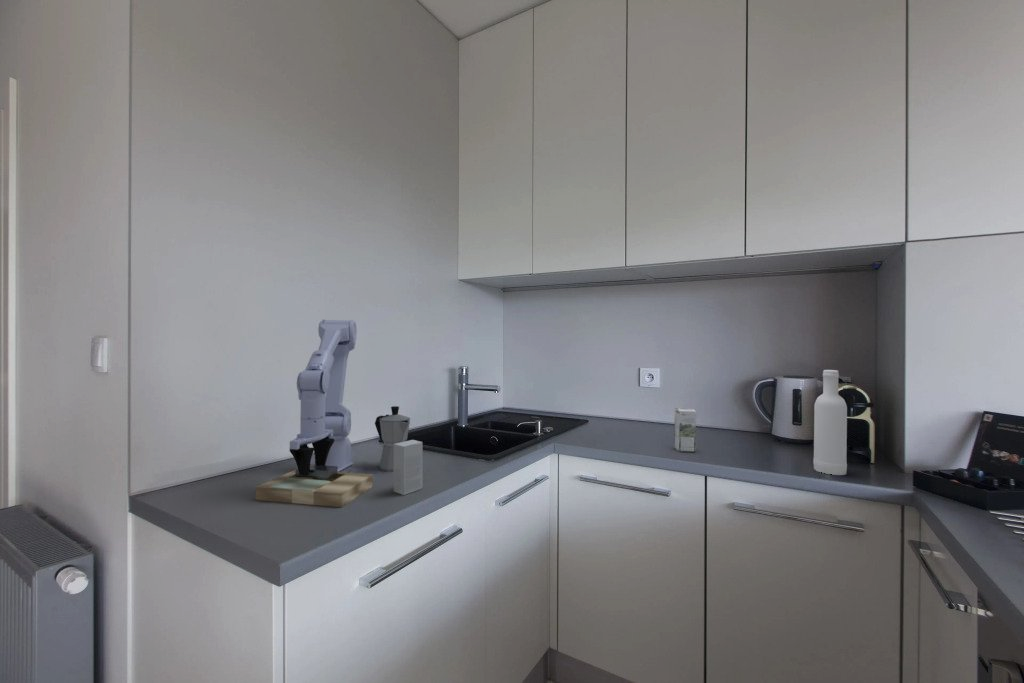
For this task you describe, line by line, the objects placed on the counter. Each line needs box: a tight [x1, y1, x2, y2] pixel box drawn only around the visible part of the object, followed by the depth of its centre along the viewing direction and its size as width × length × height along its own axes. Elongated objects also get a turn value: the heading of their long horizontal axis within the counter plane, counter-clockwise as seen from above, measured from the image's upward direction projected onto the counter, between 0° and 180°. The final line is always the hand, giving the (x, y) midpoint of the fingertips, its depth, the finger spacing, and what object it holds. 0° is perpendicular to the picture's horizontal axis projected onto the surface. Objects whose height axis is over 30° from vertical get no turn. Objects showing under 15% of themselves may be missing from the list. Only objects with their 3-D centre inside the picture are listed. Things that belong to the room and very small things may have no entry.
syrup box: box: [673, 407, 697, 453], centre depth 148 cm, size 6×6×14 cm
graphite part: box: [294, 463, 338, 480], centre depth 107 cm, size 4×9×2 cm, turn 80°
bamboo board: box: [255, 469, 374, 508], centre depth 103 cm, size 14×22×3 cm, turn 80°
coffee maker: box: [374, 405, 411, 472], centre depth 126 cm, size 15×9×18 cm, turn 56°
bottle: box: [812, 369, 848, 476], centre depth 125 cm, size 8×8×30 cm
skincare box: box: [393, 439, 424, 496], centre depth 106 cm, size 6×4×12 cm
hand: (312, 471), depth 107 cm, fingers open, 6 cm apart
